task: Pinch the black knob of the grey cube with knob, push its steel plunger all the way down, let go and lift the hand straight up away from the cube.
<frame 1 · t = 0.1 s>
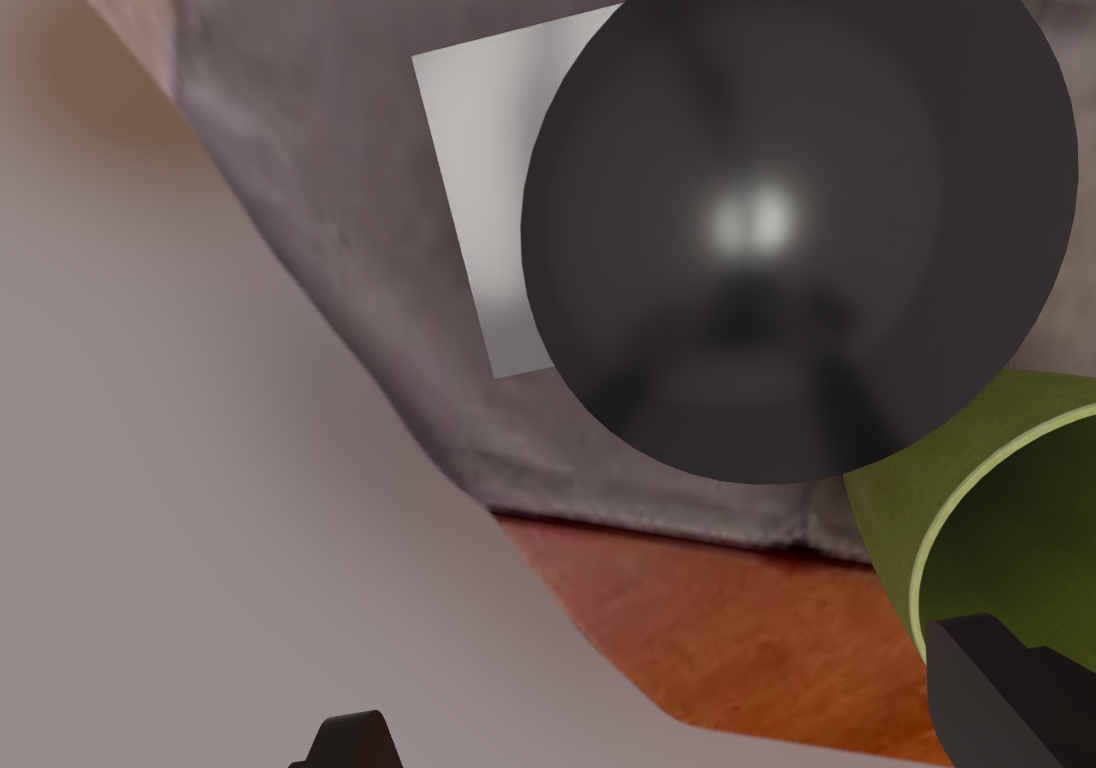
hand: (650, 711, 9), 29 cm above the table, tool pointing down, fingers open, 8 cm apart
flower pot: (894, 423, 39), on the table
plunger: (637, 200, 14), point 23 cm above the table, slide at 0.0 cm
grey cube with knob: (589, 188, 35), on the table
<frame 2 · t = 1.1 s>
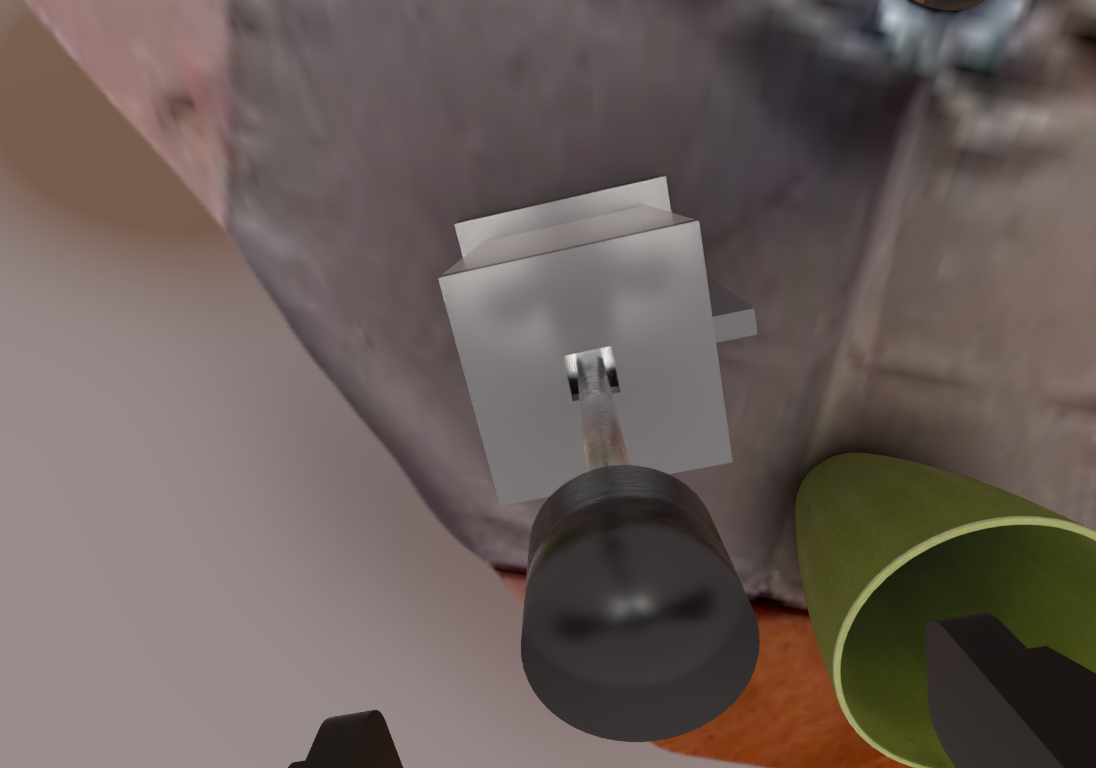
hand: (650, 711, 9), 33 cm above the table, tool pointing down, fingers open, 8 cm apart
flower pot: (844, 494, 45), on the table
plunger: (602, 434, 19), point 23 cm above the table, slide at 0.0 cm
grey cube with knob: (579, 300, 41), on the table
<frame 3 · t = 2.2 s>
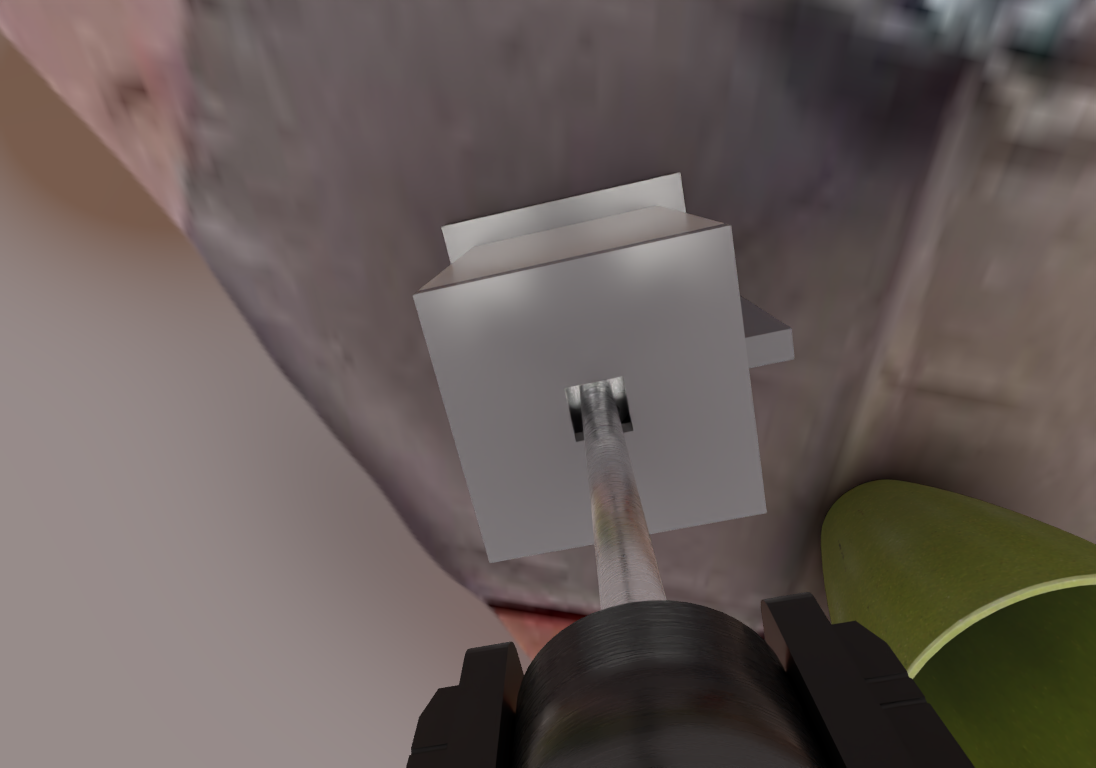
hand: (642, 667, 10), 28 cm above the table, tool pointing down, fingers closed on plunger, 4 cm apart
flower pot: (875, 525, 41), on the table
plunger: (615, 500, 15), point 23 cm above the table, slide at 0.0 cm, touching gripper
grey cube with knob: (581, 312, 37), on the table
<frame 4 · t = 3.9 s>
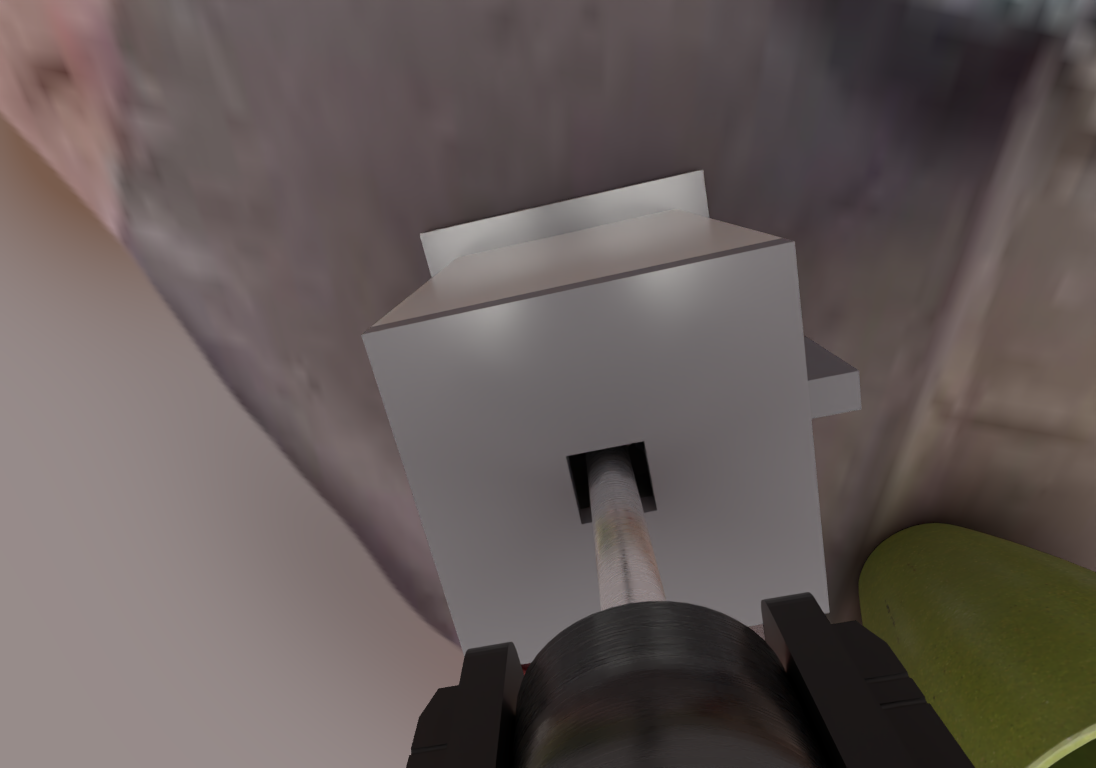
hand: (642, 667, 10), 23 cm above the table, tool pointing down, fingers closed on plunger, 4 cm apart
flower pot: (920, 573, 36), on the table
plunger: (615, 499, 15), point 17 cm above the table, slide at 5.5 cm, touching gripper
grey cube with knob: (585, 332, 31), on the table
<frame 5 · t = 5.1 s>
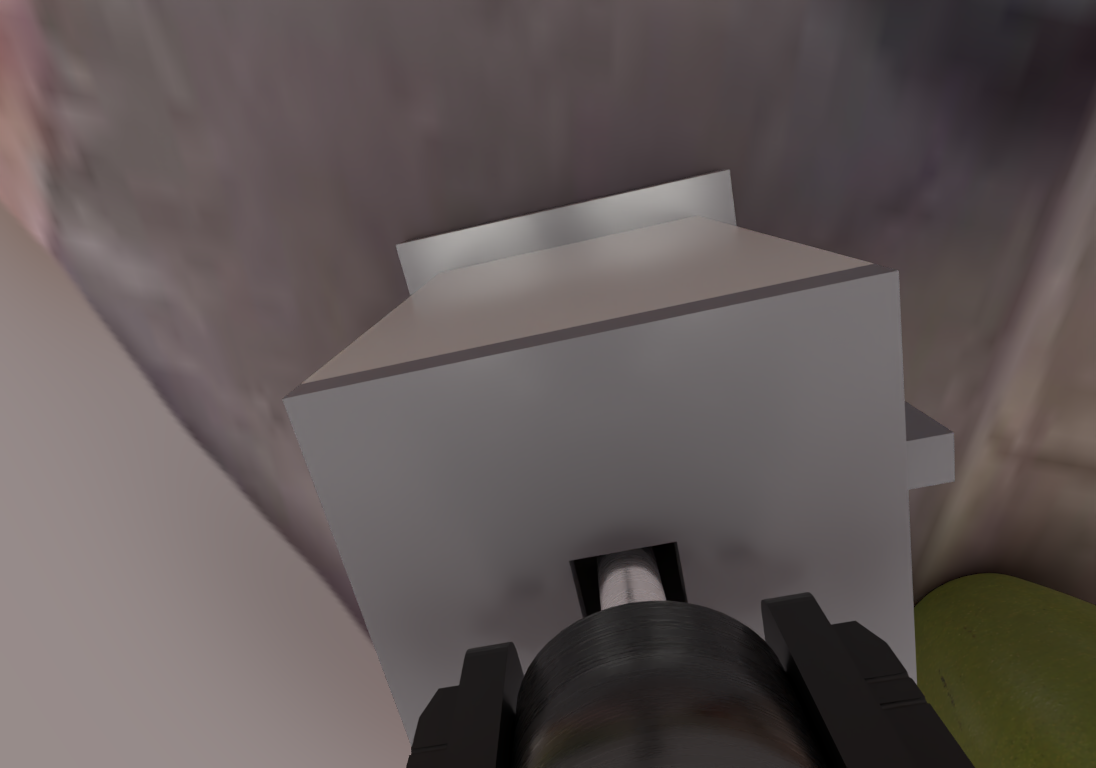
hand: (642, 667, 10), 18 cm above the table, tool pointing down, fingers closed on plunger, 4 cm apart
flower pot: (969, 628, 32), on the table
plunger: (615, 500, 15), point 13 cm above the table, slide at 10.0 cm, touching gripper
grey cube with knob: (589, 357, 27), on the table
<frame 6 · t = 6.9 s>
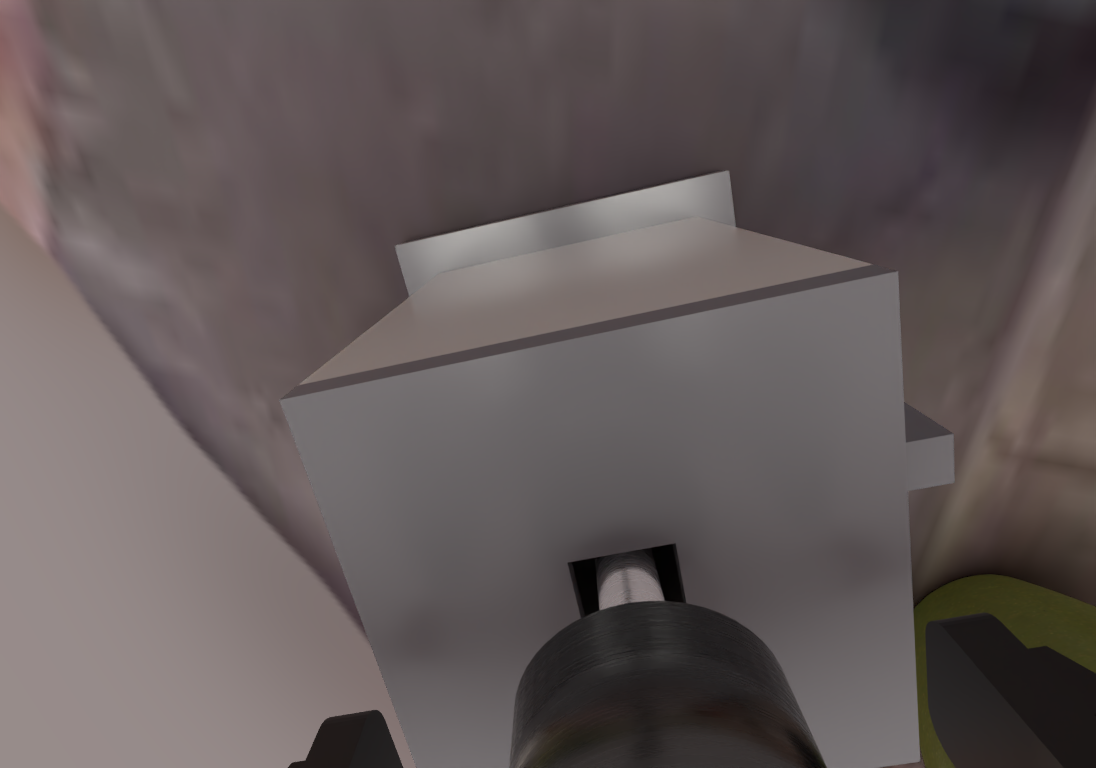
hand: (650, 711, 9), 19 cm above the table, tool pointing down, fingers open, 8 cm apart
flower pot: (969, 629, 31), on the table
plunger: (613, 500, 15), point 13 cm above the table, slide at 10.0 cm
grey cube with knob: (589, 358, 27), on the table
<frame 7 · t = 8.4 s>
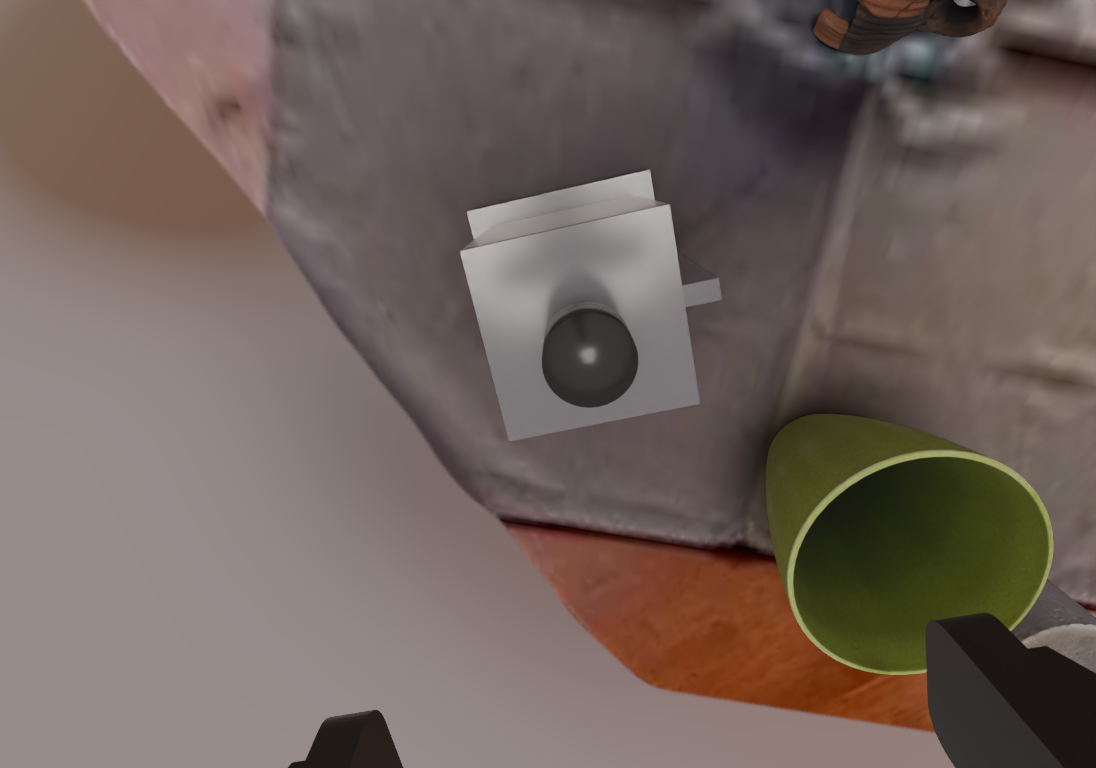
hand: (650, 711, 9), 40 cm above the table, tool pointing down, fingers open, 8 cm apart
flower pot: (810, 452, 51), on the table
plunger: (581, 314, 35), point 13 cm above the table, slide at 10.0 cm
pillar candle: (939, 563, 54), on the table
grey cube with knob: (575, 279, 47), on the table
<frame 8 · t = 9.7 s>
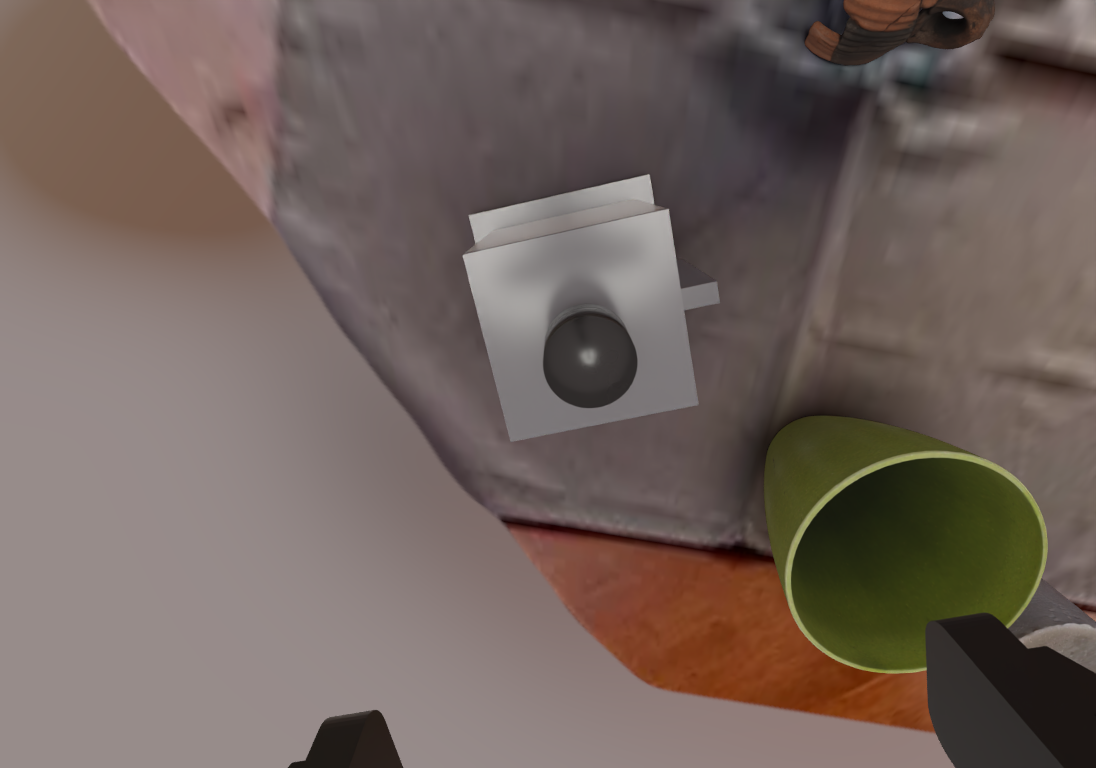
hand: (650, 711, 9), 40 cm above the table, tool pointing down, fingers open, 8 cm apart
flower pot: (809, 453, 52), on the table
plunger: (582, 317, 35), point 13 cm above the table, slide at 10.0 cm
pillar candle: (937, 564, 55), on the table
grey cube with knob: (576, 282, 47), on the table
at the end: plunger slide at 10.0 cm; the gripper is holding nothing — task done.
